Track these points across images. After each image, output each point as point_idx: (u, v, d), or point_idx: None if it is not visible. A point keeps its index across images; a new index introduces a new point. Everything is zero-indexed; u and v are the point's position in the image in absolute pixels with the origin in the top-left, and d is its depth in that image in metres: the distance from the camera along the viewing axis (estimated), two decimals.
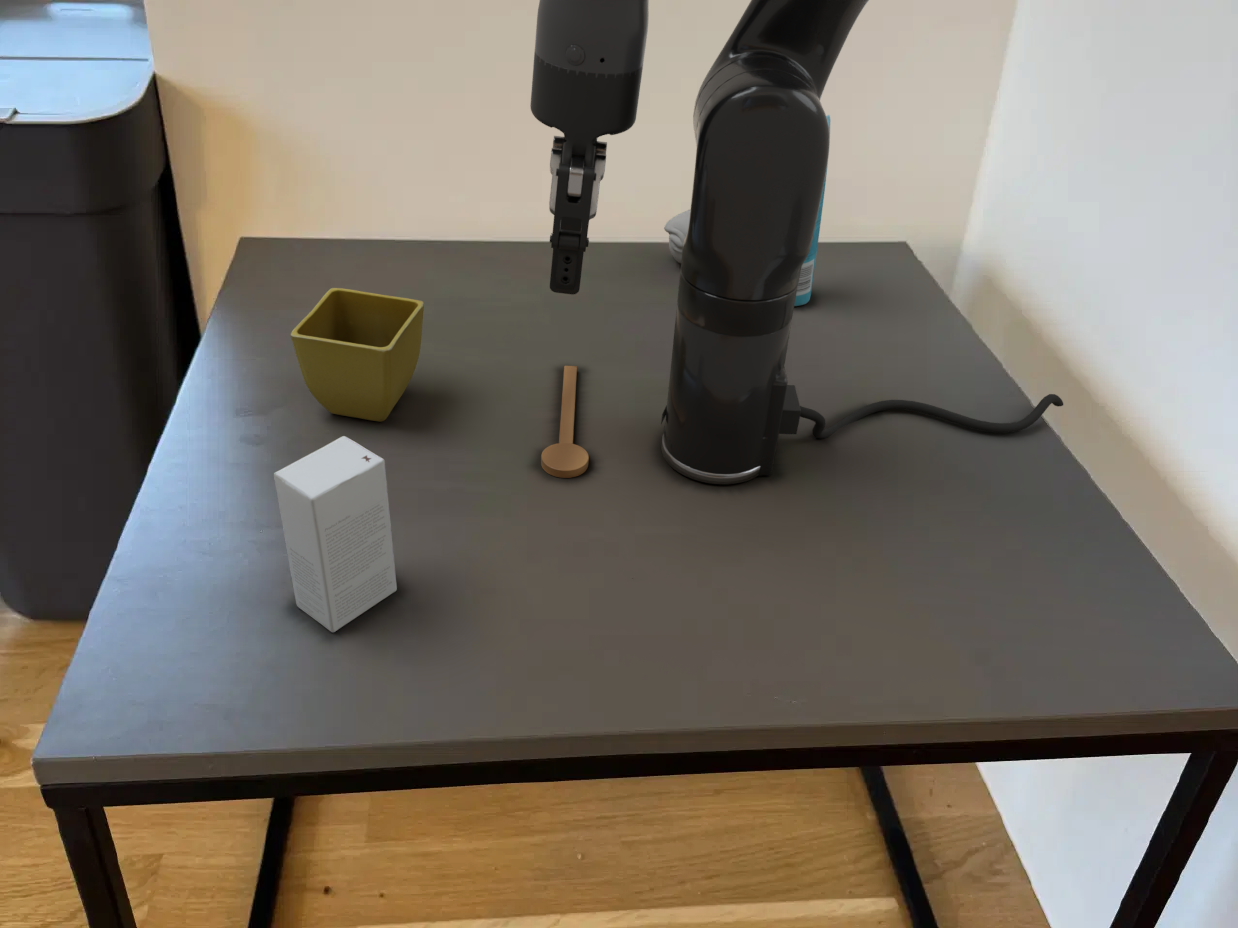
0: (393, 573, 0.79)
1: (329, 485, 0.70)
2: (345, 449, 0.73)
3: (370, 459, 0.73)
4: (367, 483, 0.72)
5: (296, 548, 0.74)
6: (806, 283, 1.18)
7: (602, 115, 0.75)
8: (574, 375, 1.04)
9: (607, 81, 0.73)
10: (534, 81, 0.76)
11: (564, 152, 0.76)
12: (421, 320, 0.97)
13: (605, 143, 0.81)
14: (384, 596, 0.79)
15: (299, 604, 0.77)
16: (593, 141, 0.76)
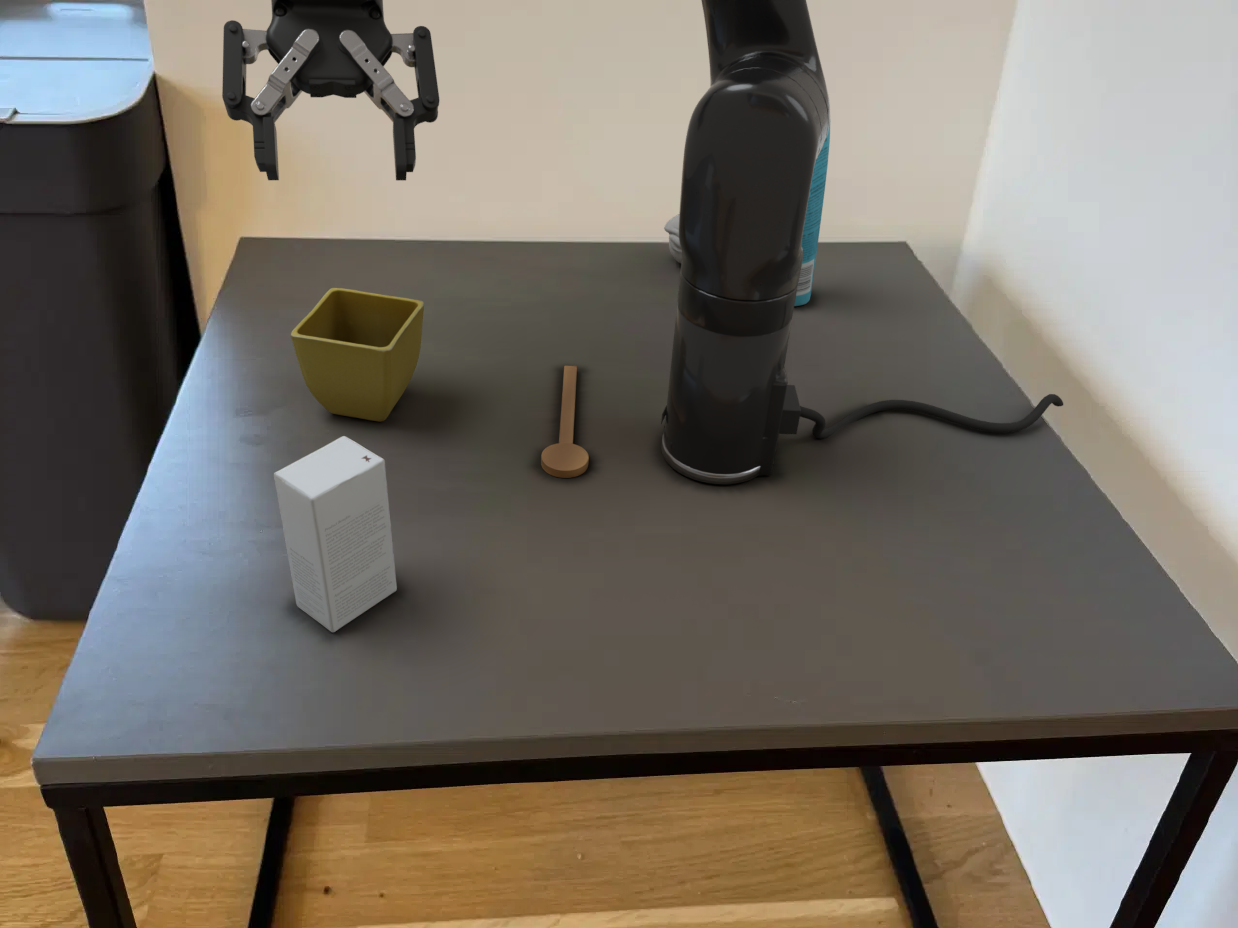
0: (393, 573, 0.79)
1: (329, 485, 0.70)
2: (345, 449, 0.73)
3: (370, 459, 0.73)
4: (367, 483, 0.72)
5: (296, 548, 0.74)
6: (806, 283, 1.18)
7: None
8: (574, 375, 1.04)
9: None
10: None
11: None
12: (421, 320, 0.97)
13: (346, 30, 0.75)
14: (384, 596, 0.79)
15: (299, 604, 0.77)
16: (274, 12, 0.75)
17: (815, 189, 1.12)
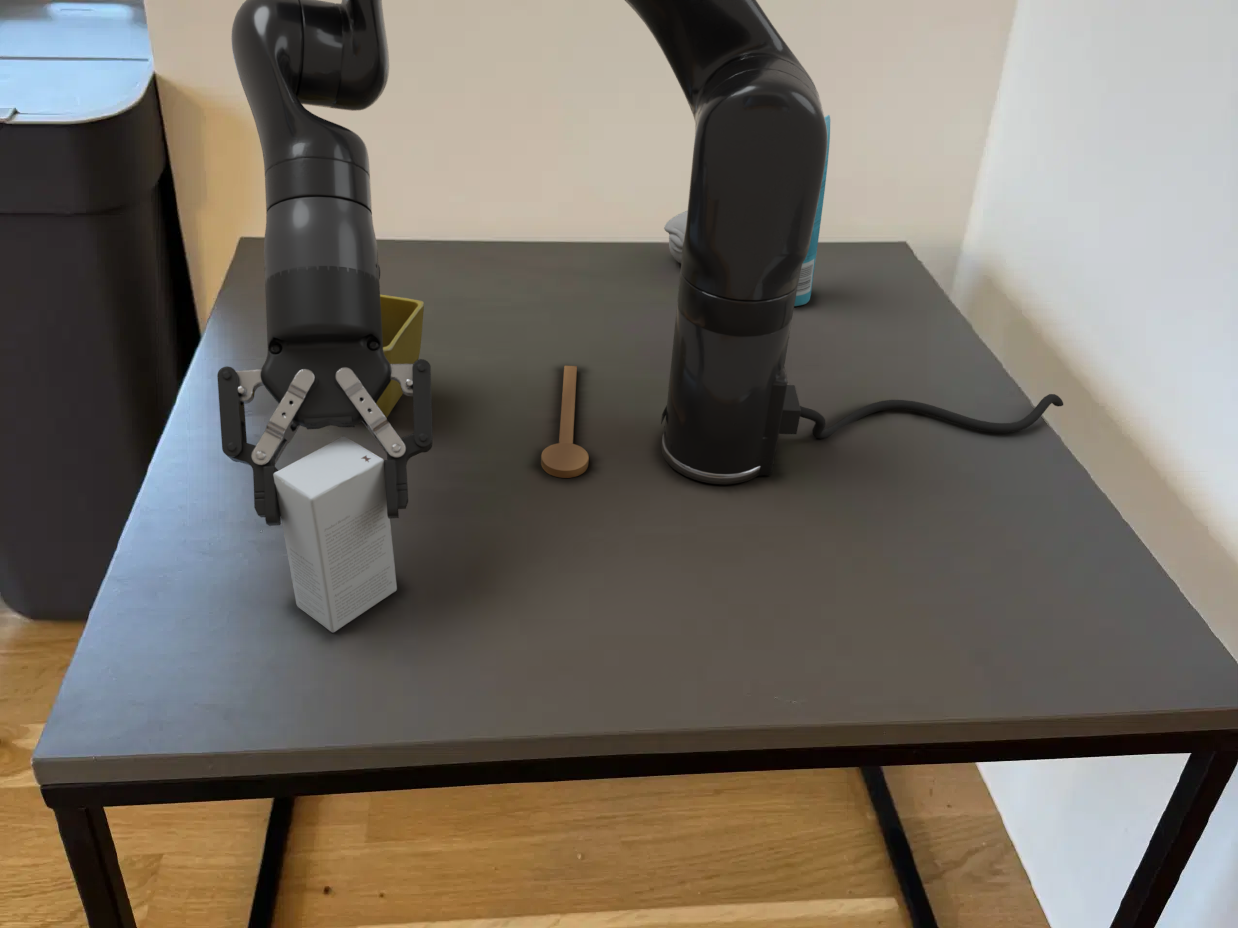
0: (393, 573, 0.79)
1: (329, 485, 0.70)
2: (345, 449, 0.73)
3: (369, 459, 0.73)
4: (366, 484, 0.72)
5: (295, 548, 0.74)
6: (806, 283, 1.18)
7: (268, 320, 0.73)
8: (574, 375, 1.04)
9: (267, 286, 0.73)
10: None
11: None
12: (421, 320, 0.97)
13: (343, 367, 0.72)
14: (384, 596, 0.79)
15: (299, 604, 0.77)
16: (270, 349, 0.73)
17: None
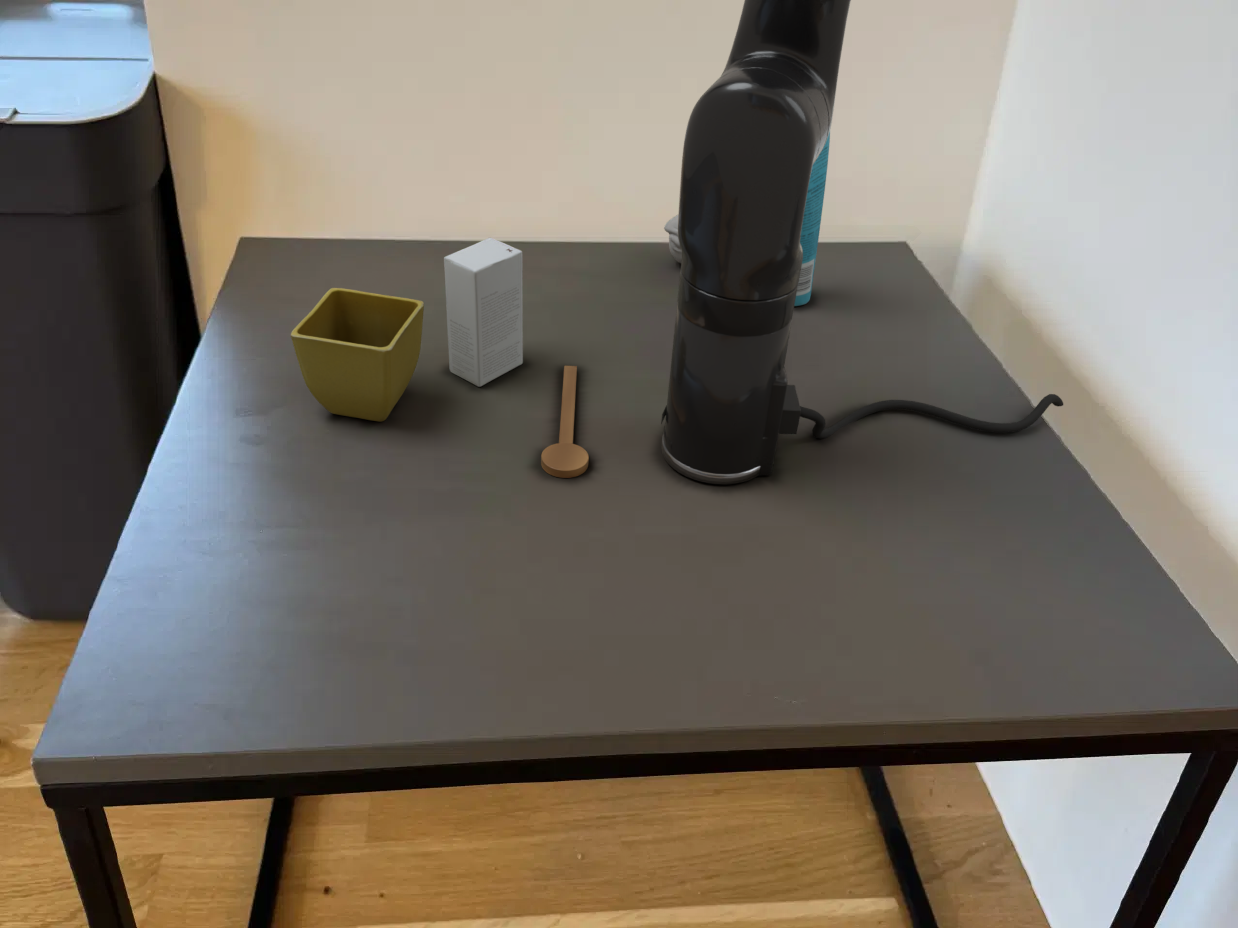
0: (521, 348, 1.05)
1: (486, 264, 0.96)
2: (493, 245, 0.99)
3: (512, 251, 0.99)
4: (510, 268, 0.99)
5: (455, 319, 1.00)
6: (806, 283, 1.18)
7: None
8: (574, 375, 1.04)
9: None
10: None
11: None
12: (421, 320, 0.97)
13: None
14: (514, 366, 1.05)
15: (452, 368, 1.04)
16: None
17: (815, 189, 1.12)
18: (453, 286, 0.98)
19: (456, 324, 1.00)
